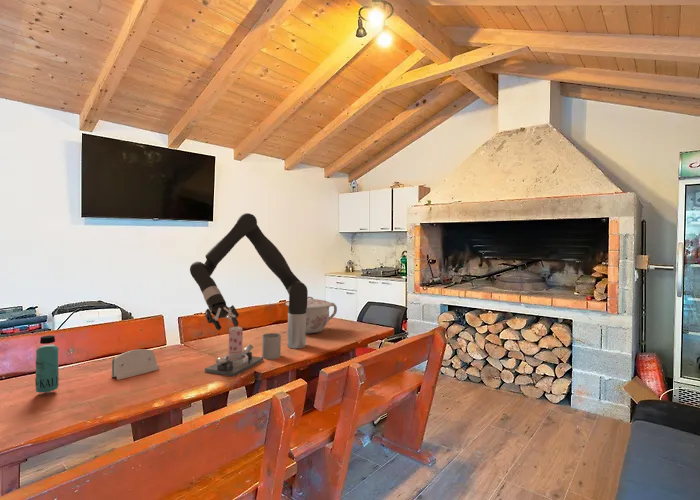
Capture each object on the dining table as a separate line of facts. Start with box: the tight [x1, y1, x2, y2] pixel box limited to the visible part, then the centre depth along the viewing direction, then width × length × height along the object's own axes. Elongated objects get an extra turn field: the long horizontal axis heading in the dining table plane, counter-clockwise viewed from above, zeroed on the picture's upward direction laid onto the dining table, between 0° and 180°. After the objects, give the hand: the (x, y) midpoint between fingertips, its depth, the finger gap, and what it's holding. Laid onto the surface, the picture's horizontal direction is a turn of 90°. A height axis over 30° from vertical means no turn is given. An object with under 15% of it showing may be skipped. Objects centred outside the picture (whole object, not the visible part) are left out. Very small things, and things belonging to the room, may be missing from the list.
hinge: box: [111, 348, 160, 381], centre depth 159 cm, size 17×5×10 cm, turn 142°
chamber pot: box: [285, 296, 338, 335], centre depth 235 cm, size 28×28×21 cm
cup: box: [261, 332, 282, 360], centre depth 184 cm, size 8×8×10 cm
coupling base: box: [204, 343, 264, 377], centre depth 169 cm, size 24×14×7 cm, turn 161°
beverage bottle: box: [34, 335, 60, 394], centre depth 136 cm, size 6×7×20 cm
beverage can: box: [227, 326, 244, 360], centre depth 169 cm, size 6×6×15 cm
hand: (228, 327), depth 172 cm, fingers open, 8 cm apart
